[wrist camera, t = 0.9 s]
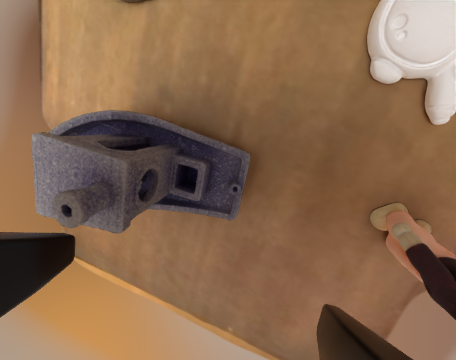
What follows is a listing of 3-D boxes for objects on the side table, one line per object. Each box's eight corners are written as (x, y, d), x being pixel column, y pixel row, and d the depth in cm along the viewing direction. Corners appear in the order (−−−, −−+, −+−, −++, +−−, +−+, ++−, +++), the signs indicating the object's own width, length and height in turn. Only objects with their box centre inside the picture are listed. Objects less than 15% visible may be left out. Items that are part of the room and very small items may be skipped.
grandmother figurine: (346, 222, 21) (405, 370, 9) (377, 186, 20) (491, 307, 8) (431, 271, 20) (610, 498, 9) (469, 237, 19) (747, 454, 7)
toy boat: (262, 132, 21) (210, 171, 9) (242, 214, 23) (182, 330, 11) (110, 97, 24) (-86, 90, 12) (108, 173, 26) (-53, 231, 14)
